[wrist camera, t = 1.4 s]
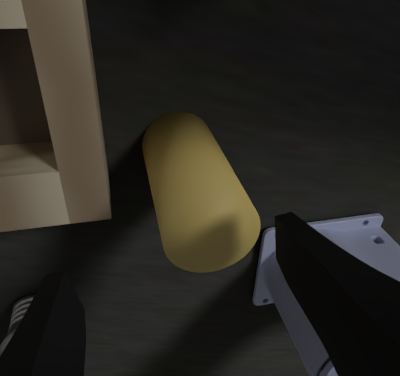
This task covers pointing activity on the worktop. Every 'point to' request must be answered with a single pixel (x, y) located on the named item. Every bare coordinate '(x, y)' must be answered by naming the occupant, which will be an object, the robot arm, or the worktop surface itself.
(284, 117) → the worktop surface
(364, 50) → the worktop surface
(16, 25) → the socket block
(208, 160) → the dowel
